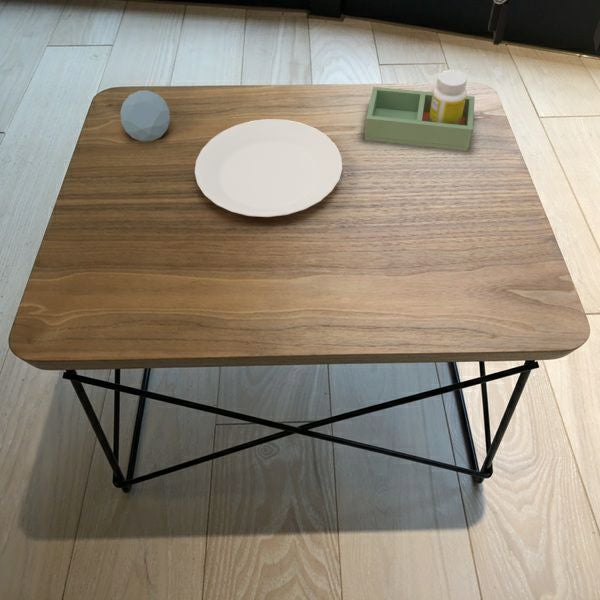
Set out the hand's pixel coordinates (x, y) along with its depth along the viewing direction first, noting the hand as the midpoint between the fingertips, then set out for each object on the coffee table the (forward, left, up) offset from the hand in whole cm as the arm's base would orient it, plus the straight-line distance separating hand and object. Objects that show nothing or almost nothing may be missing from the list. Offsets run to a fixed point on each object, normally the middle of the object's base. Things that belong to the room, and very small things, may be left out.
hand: (546, 41), depth 60 cm
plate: (+31, -5, -26) cm, 41 cm away
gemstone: (+52, -12, -26) cm, 60 cm away
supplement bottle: (+7, -19, -26) cm, 33 cm away
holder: (+11, -20, -26) cm, 35 cm away
